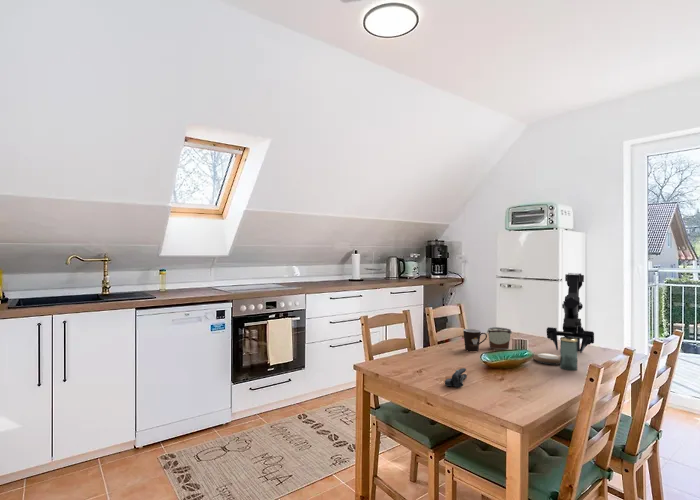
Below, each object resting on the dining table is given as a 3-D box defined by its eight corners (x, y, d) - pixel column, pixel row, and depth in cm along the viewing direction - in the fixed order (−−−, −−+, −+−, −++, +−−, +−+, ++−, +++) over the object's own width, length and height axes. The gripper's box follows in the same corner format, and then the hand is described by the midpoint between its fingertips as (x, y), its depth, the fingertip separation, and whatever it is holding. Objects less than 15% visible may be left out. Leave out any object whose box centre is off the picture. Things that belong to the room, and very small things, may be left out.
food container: (508, 346, 223) (508, 327, 223) (511, 349, 217) (511, 329, 217) (484, 345, 224) (484, 326, 224) (487, 348, 218) (487, 329, 218)
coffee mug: (462, 351, 211) (463, 331, 211) (463, 347, 219) (463, 328, 219) (487, 353, 208) (487, 333, 208) (486, 349, 216) (487, 329, 216)
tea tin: (557, 365, 188) (558, 336, 187) (573, 366, 187) (574, 337, 186) (563, 370, 181) (563, 340, 181) (579, 371, 180) (580, 340, 180)
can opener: (461, 391, 155) (461, 375, 154) (442, 387, 158) (442, 372, 158) (473, 378, 170) (474, 364, 170) (456, 375, 173) (456, 361, 173)
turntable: (529, 354, 202) (529, 351, 202) (557, 356, 200) (557, 353, 200) (537, 362, 189) (537, 359, 189) (568, 363, 187) (568, 360, 187)
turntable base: (533, 358, 200) (533, 356, 200) (555, 359, 199) (555, 357, 199) (539, 363, 190) (539, 362, 190) (563, 365, 189) (563, 363, 189)
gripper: (547, 309, 193) (543, 337, 183) (594, 313, 183) (593, 343, 174) (549, 323, 199) (545, 352, 190) (594, 328, 190) (593, 358, 180)
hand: (568, 351), depth 183 cm, fingers open, 9 cm apart
